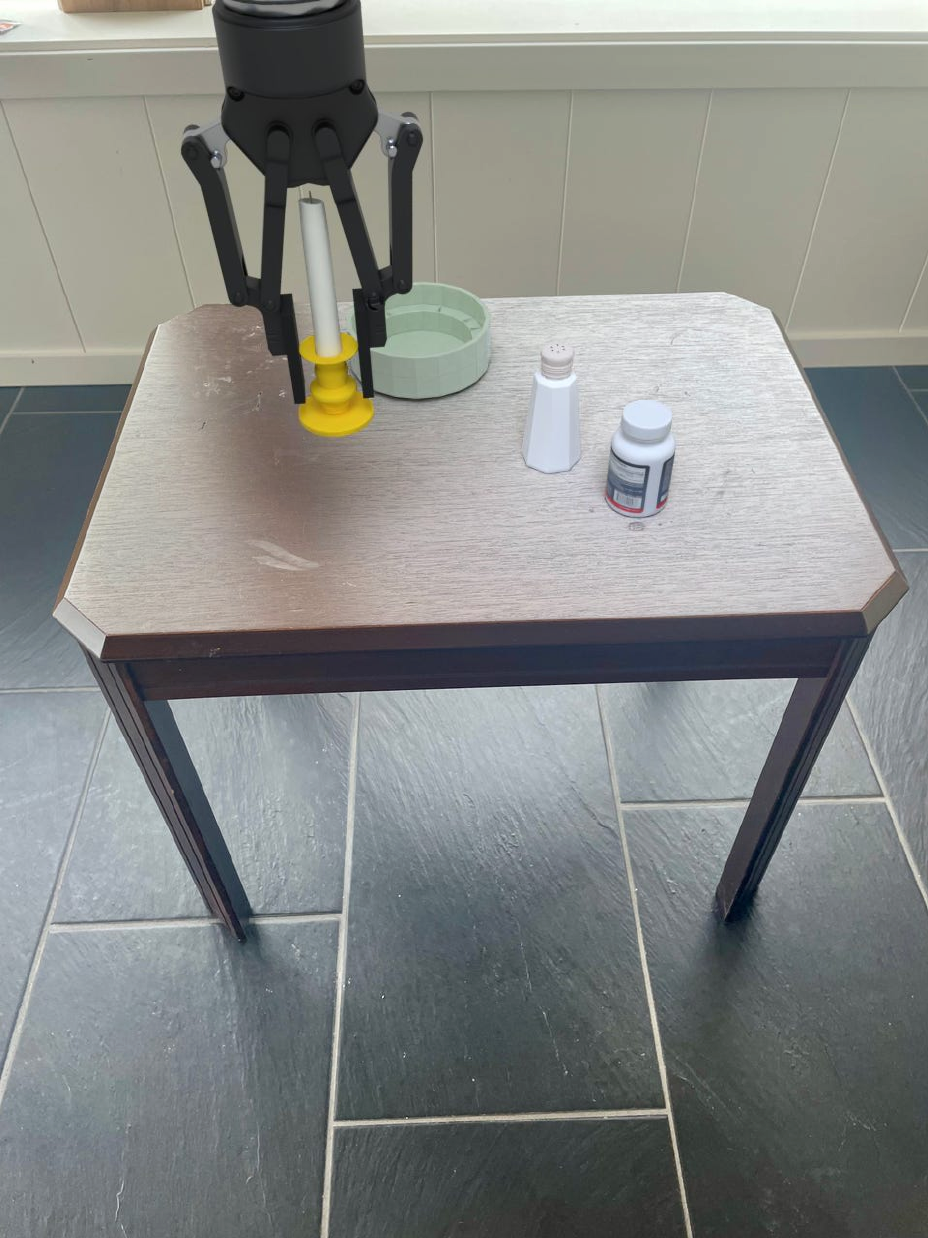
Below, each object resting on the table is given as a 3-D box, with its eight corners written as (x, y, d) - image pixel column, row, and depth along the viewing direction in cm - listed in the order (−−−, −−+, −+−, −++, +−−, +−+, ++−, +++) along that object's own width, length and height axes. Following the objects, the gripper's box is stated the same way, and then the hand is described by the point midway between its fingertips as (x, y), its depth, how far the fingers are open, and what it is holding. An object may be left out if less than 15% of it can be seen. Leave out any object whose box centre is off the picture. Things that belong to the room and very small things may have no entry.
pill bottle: (650, 474, 85) (663, 388, 79) (677, 511, 82) (693, 424, 75) (594, 487, 84) (604, 401, 78) (619, 524, 81) (632, 438, 74)
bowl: (356, 409, 92) (350, 363, 89) (347, 331, 102) (342, 287, 98) (500, 395, 94) (500, 350, 90) (478, 320, 103) (478, 276, 99)
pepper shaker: (556, 430, 90) (563, 323, 82) (593, 460, 87) (604, 352, 78) (508, 451, 88) (511, 343, 80) (544, 482, 85) (551, 374, 76)
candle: (330, 385, 70) (303, 164, 58) (389, 408, 68) (372, 184, 56) (283, 421, 67) (245, 196, 55) (343, 446, 65) (316, 218, 53)
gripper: (443, -36, 52) (450, 349, 69) (120, -22, 50) (209, 369, 67) (462, 6, 47) (464, 411, 64) (103, 23, 45) (205, 433, 62)
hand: (333, 388), depth 65 cm, fingers closed on candle, 4 cm apart
